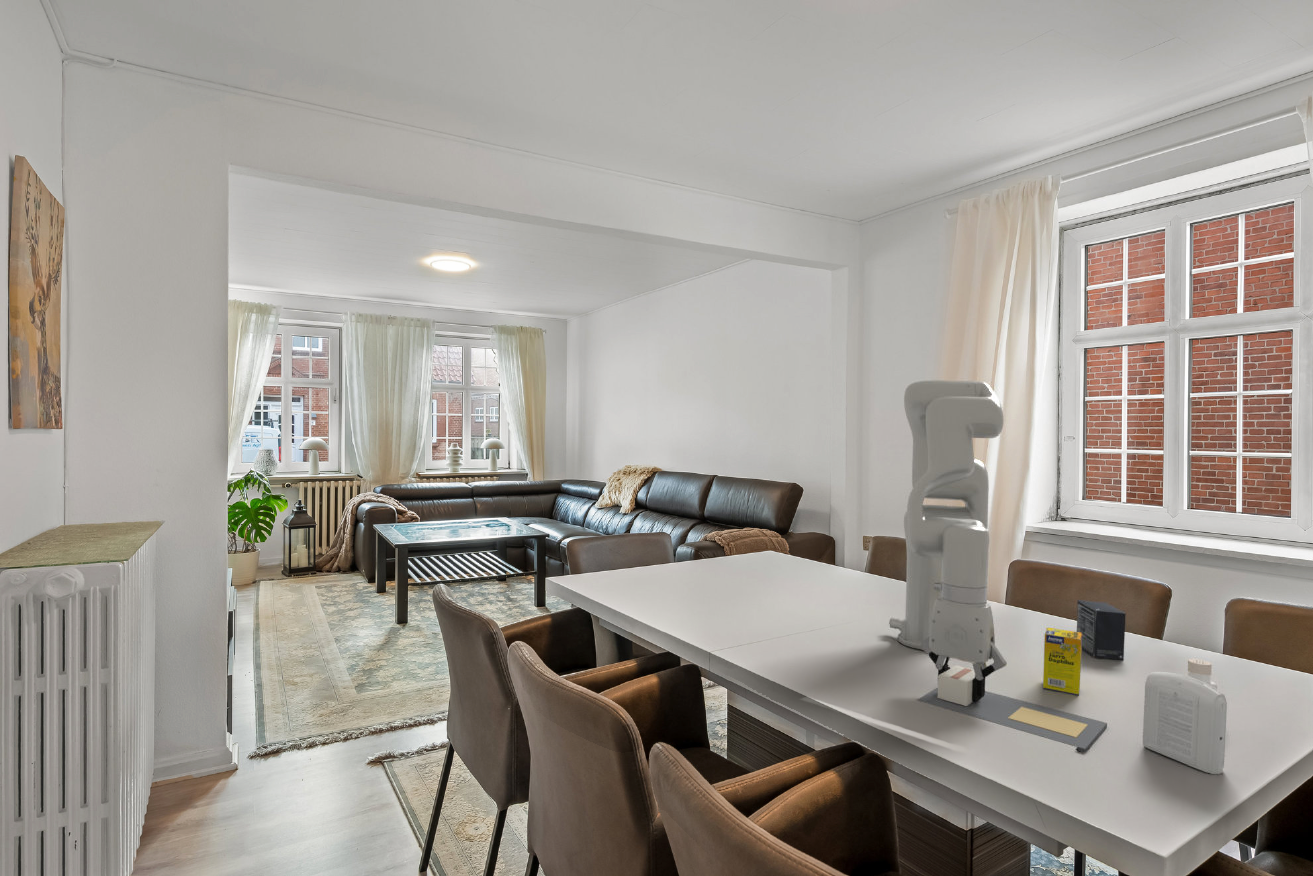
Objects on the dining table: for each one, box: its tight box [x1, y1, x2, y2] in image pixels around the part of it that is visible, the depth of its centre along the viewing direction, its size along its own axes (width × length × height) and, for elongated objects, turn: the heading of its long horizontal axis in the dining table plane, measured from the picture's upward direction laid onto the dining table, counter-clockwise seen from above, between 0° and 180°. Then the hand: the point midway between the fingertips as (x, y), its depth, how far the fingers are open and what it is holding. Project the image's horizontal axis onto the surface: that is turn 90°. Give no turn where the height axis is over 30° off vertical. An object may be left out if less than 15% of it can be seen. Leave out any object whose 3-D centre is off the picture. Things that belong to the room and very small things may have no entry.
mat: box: [916, 687, 1108, 754], centre depth 120 cm, size 26×14×1 cm, turn 46°
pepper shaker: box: [1187, 658, 1218, 690], centre depth 121 cm, size 4×4×10 cm
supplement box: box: [1042, 627, 1083, 697], centre depth 132 cm, size 6×6×11 cm
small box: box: [1076, 599, 1127, 661], centre depth 157 cm, size 11×6×10 cm, turn 168°
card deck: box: [937, 664, 975, 706], centre depth 125 cm, size 5×8×4 cm, turn 136°
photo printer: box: [1142, 671, 1228, 775], centre depth 104 cm, size 10×4×12 cm, turn 24°
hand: (960, 694), depth 125 cm, fingers closed on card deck, 4 cm apart
